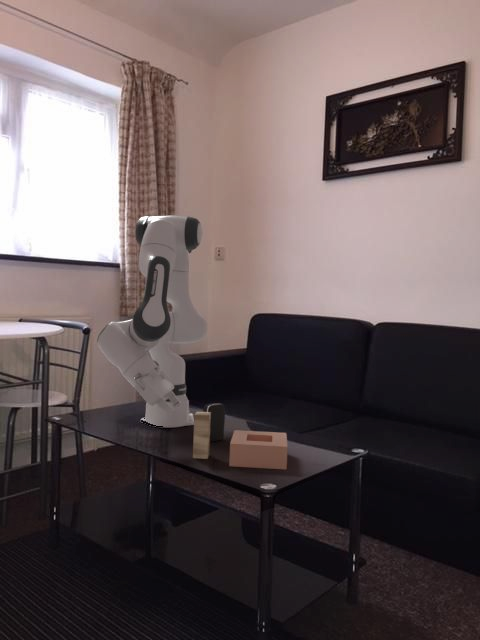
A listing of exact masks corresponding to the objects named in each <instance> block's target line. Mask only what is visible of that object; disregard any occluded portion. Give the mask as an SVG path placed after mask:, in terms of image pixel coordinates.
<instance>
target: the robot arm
mask: <svg viewBox="0 0 480 640" xmlns="http://www.w3.org/2000/svg"><path fill="white" fill-rule="evenodd" d="M134 235H135V239H136V243H137V244H138V245H139V246H140V248H139V249H140V250H139V254H138V270H139V272H140V273H141V274H142V276H144V277H145V278H146V280H145V285H144V292H143V298H142V301H141V303H140V304H139V306H138V307H137V308H136V310H135V312H134V314H133V317H132V318H131V319H129V320H124V321H110V322H109V323H107V325H105V326H104V327H103V329H102V330H100V333H99V334H98V336H97V342H96V344H97V347H98V348H99V350H100V351H101V352H102V354H103V355H104V356H105V358H106V359H107V360H108V361H109V362H110V363H111V364H112V365H113V366H114V367H117V369H118V370H119V372H120V373H121V375H122V376H123V377H124V378H125V380H126V381H127V382H128V383H129V384H130V385H131V386H132V387H133V388H135V390H136V391H137V393H138V394H140V396H141V397H142V398H143V400H144V401H145V402H146V404H145V417H142V418H140V421H141V420H143V421H146V422H148V423H150V424H153V425H156V426H163V427H162V428H180V427H184V426H194V414H193V413H192V412H191V411H192V410H191V409H190V405H189V404H190V403H189V402H190V400H189V399H188V396H187V395H186V394H187V385H186V361H185V360H184V358H183V357H181V356H180V355H178V354H177V353H175V352H174V351H172V350H170V349H171V348H170V344H192V343H197V342H201V341H202V340H204V338H205V337H206V336H207V333H208V323H207V320H206V318H205V317H204V316H203V315H202V314H201V313H200V312H199V311H198V310H197V309H196V308H195V306H194V304H193V302H192V301H191V296H190V289H189V288H190V286H189V284H190V283H189V281H190V280H189V278H190V277H189V273H190V262H189V254H190V253H192V251H193V250H196V249H197V248H198V247H199V245H200V244H201V241H202V239H203V228H202V225H201V222H200V221H199V219H198V218H196V217H193V216H192V217H191V216H183V215H182V216H179V215H170V214H169V215H156V216H151V215H147V216H142V217H140V218H139V219H138V220H137V221H136V224H135V229H134ZM167 303H169V304H170V305H171V307H172V311H169V309H168V304H167ZM146 352H149V354H150V356H149V354H148V353H146ZM144 418H145V419H144ZM156 426H155V427H156Z"/></svg>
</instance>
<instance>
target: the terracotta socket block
mask: <svg viewBox="0 0 480 640" xmlns="http://www.w3.org/2000/svg"><path fill="white" fill-rule="evenodd" d="M228 462H229V463H228V466H229V467H238V468H239V467H240V468H252V469H253V468H255V469H270V470H271V469H272V470H274V469H275V470H287V468H288V467H287V466H288V437H287V432H275V431H274V432H273V431H258V430H257V431H256V430H255V431H254V430H237V429H235V430H234V431H233V434H232V436H231V439H230V443H229V461H228Z"/></svg>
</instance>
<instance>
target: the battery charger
mask: <svg viewBox="0 0 480 640" xmlns="http://www.w3.org/2000/svg"><path fill="white" fill-rule="evenodd" d="M202 412H211V419H210V443H211V442H212V443H213V442H217V441H221V440H224V439H225V421H226V420H225V419H226V408H225V405H224V404H223V403H217V402H214V403H213V402H212V403H207V404H205V405H204V406H203V408H202Z"/></svg>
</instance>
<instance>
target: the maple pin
mask: <svg viewBox="0 0 480 640" xmlns="http://www.w3.org/2000/svg"><path fill="white" fill-rule="evenodd" d="M193 418H194V425H193V445H192V459H203V460H204V459H205V460H206V459H207V460H208V459H209V456H210V447H211V445H210V444H211V442H210V419H211V412H203V411H196V412H195V413H194V414H193Z"/></svg>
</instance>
